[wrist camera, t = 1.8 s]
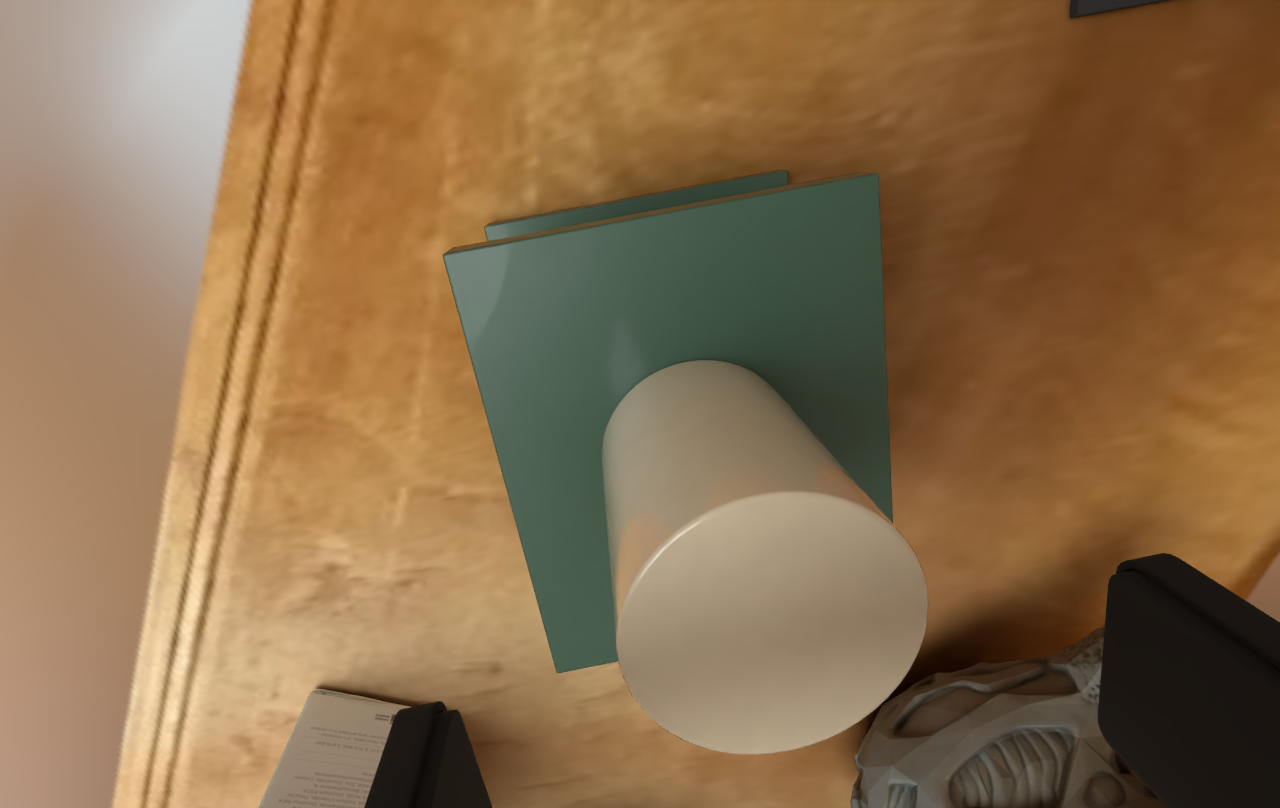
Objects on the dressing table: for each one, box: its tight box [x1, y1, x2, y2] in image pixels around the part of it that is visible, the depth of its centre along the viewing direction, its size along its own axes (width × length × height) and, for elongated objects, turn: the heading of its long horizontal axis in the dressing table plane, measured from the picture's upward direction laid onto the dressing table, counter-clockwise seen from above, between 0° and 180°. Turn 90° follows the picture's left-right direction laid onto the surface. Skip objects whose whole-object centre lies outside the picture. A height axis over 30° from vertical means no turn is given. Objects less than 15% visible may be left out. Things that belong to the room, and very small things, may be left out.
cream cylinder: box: [602, 360, 928, 755], centre depth 14 cm, size 5×5×7 cm
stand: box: [443, 170, 893, 673], centre depth 21 cm, size 12×10×8 cm
